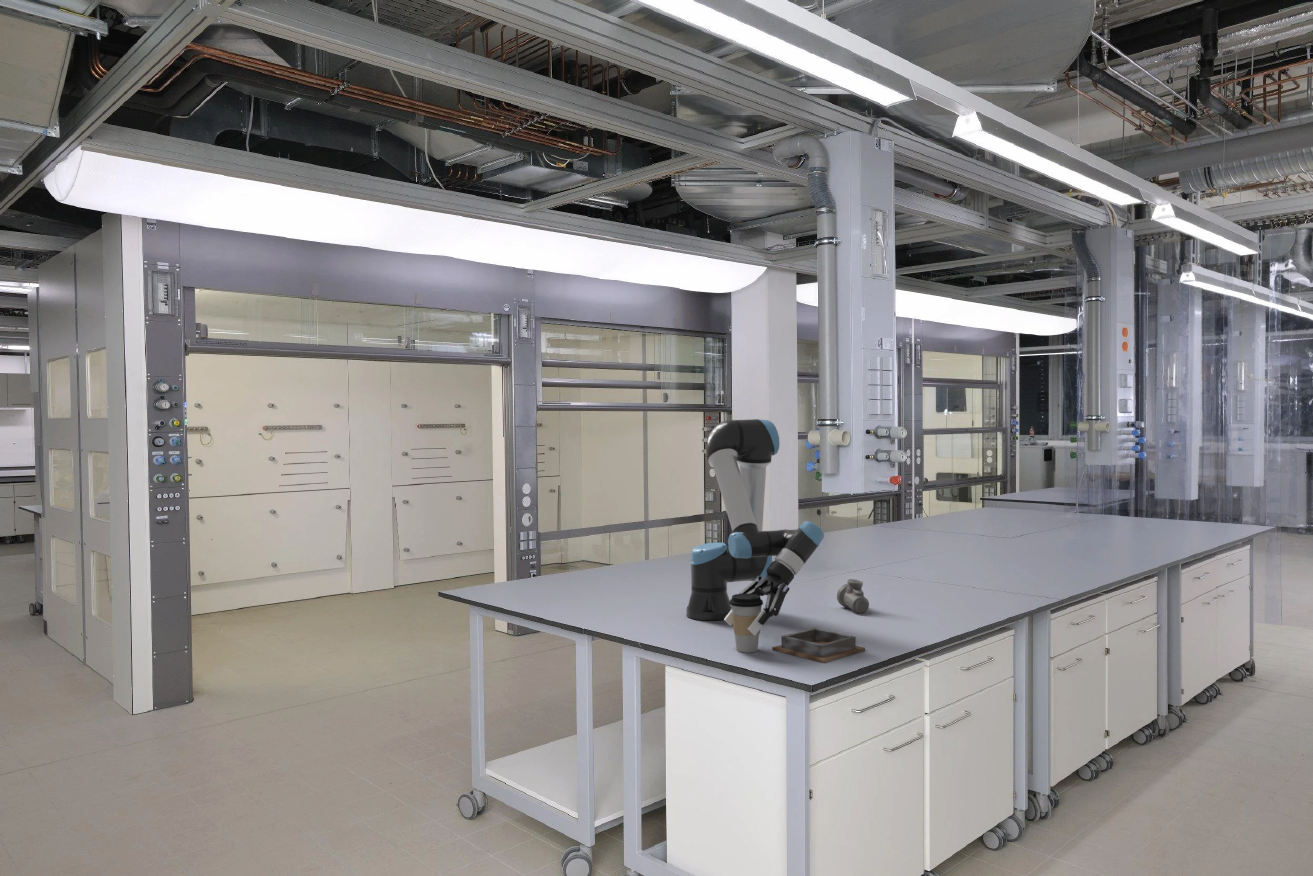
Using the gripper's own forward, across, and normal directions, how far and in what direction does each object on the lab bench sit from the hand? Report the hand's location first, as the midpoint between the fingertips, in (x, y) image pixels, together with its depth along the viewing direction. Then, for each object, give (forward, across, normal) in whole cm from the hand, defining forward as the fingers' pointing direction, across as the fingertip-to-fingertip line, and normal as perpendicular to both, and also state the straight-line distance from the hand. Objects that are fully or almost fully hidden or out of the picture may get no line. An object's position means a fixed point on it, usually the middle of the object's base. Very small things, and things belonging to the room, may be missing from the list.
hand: (738, 627), depth 244 cm
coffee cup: (+3, 0, -6) cm, 7 cm away
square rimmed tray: (-9, -10, -18) cm, 23 cm away
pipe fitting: (-37, +26, -47) cm, 65 cm away
